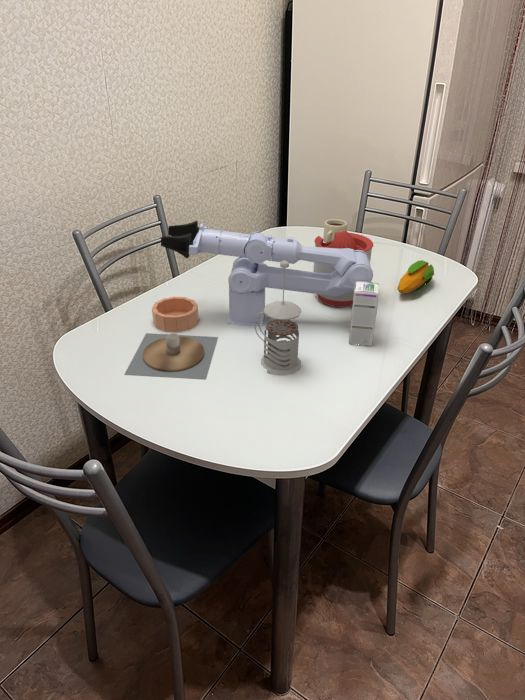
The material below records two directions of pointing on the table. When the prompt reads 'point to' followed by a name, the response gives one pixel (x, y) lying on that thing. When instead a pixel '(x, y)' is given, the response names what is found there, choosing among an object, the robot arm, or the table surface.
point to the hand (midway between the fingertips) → (165, 235)
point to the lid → (173, 353)
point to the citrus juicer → (339, 242)
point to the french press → (281, 336)
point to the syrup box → (364, 313)
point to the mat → (196, 372)
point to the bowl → (175, 314)
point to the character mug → (333, 228)
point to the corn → (416, 277)
